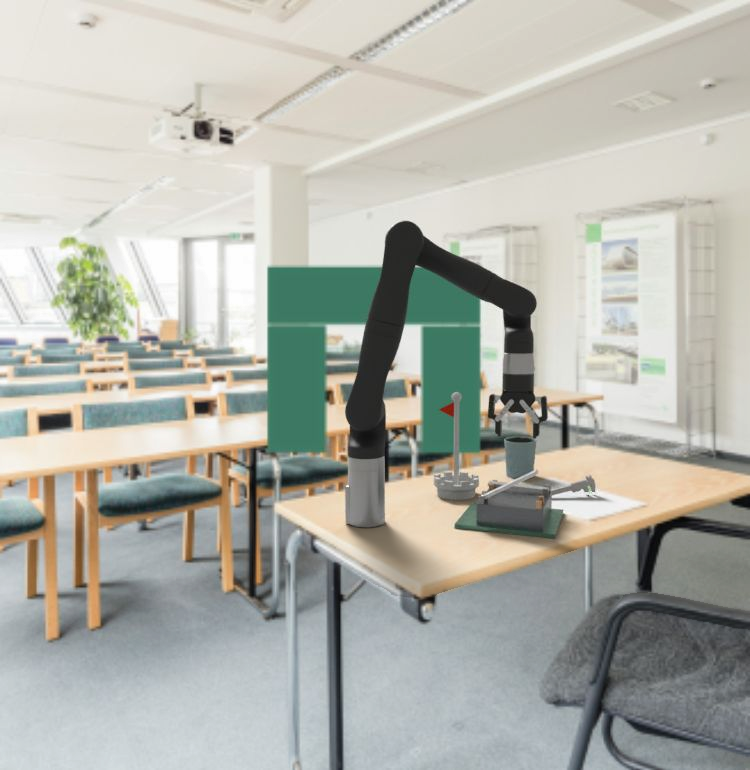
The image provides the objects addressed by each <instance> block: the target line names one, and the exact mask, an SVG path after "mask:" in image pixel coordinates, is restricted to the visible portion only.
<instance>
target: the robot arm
mask: <svg viewBox="0 0 750 770" xmlns="http://www.w3.org/2000/svg"><path fill="white" fill-rule="evenodd" d="M383 250H384V251H383V259H382V264H381V265H382V266H381V271H380V272H381V273H380V275H379V279H378V283H377V286H376V288H375V292H374V294H373V296H372V300H371V303H370V305H369V309H368V313H367V316H366V317H367V318H366V321H365V326H364V330H363V335H362V341H361V346H360V352H359V361H358V365H357V372H356V376H355V379H354V382H353V385H352V388H351V392H350V394H349V397H348V400H347V402H346V404H345V409H344V413H345V414H344V415H345V419H346V422H347V423H348V425H349V437H348V443H347V485H345V487H344V489H345V491H344V497H345V499H344V500H345V503H344V506H345V507H344V508H345V509H344V510H345V511H344V512H345V524H346V523H347V525H351V526H352V527H357V528H375V527H379V526H382V525H384V524H385V522H386V501H385V500H386V496H385V495H386V484H385V483H386V481H385V480H386V478H385V477H386V476H385V475H386V474H385V473H386V472H385V470H386V469H385V465H386V464H385V462H386V461H385V446H386V437H387V435H386V434H387V432H386V428H387V425H386V424H387V422H386V421H387V420H386V419H387V415H386V414H387V412H386V411H387V410H386V403H385V401H384V392H385V388H386V383H387V382H386V381H387V378H388V375H389V372H390V370H391V368H392V366H393V363H394V361H395V358H396V356H397V353H398V351H399V348H400V344H401V340H402V336H403V332H404V328H405V324H406V319H407V318H406V317H407V313H408V312H407V311H408V306H409V305H408V304H409V298H410V296H409V295H410V287H411V283H412V282H411V281H412V278H413V274H414V272H415V270H416V269H415V268H416V267H420V268H422V269H425V270H426V271H429V272H431V273H433V274H435V275H437V276H439V277H441V278H442V279H444V280H446V281H447V282H449V283H451V284H452V285H454V286H456V287H457V288H459V289H460V290H462V291H464V292H465V293H468V294H469V295H471V296H473V297H474V298H477V299H479V300H481V301H484V302H486V303H490V304H492V305H494V306H496V307H497V308H499V309H501V310H502V317H503V327H504V329H503V330H504V338H503V340H504V341H503V342H504V343H503V357H502V358H503V359H502V384H501V385H502V391H501V392H502V393H501V394H495V393H491V394H490V395H489V396H488V405H487V406H488V407H487V408H488V409H487V418H488V419H491V420H493V421H494V422H495V423H494V427H495V428H494V433H495V434H496V435H497V437H500V438H501V437H502V435H503V421H502V418H503V417H504V416H505V415H506V414H507V412H509V413H511V414H517V413H518V414H525V413H526V414H527V415H528V416H529V417H530V418H531V419H532V421H533V424H532V438H533V439H536V440H537V437H539V435H540V432H541V430H540V428H541V427H540V424H541V423H543V422H546V421H547V420H548V418H549V416H548V415H549V414H548V413H549V412H548V397H547V396H546V395H542V396H541V395H540V396H536V395H535V392H534V391H535V390H534V388H535V358H534V357H535V356H534V350H535V349H534V343H535V342H534V340H535V339H534V332H533V330H532V323H531V322H532V317H531V316H532V315H533V314H534V313H535V312H536V309H537V305H538V302H537V299H536V296H535V294H534V293H533V292H531V291H530V290H529V289H528V288H525V287H524V286H521V285H520V284H517V283H514V282H512V281H510V280H507V279H504V278H503V277H501V276H499V275H498V274H496V273H495V272H493V271H492V270H490V269H487V268H485V267H484V266H481V264H478V263H476V262H474V261H471V260H469V259H467V258H464V257H462V256H460V255H457V254H455V253H453V252H450V251H449V250H446V249H445V248H442V247H441V246H439V245H438V244H436V243H434V242H433V241H432V240H430V239H429V238H427V237H426V236H425V235H424V233H423V231H422V229H421V228H420V227H419V225H417V224H416V223H415V222H413V221H410V220H401V221H397V222H395V223H394V224H392V225H391V226H390V227H389V229H388V230H387V231H386V233H385V238H384V249H383ZM499 400H500V402H501V403H502V405H503V407H502V409H501V410H500V411H499V413H498V414H496V413H495V410H496V404H498V402H499ZM535 402H537V404H538V405H539V406H540V407H541V416H539V415H538V414H537V412H536V410H535V409H534V408H533V405H534V403H535Z"/></svg>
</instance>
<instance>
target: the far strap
mask: <svg viewBox="0 0 750 770" xmlns="http://www.w3.org/2000/svg"><path fill="white" fill-rule="evenodd" d="M507 483H508V482H505V481H498V480H497V481H492V480H489V481H488V482H487V487H489V484H494V487H500V486H502V485H505V484H507ZM543 488H546V489H549V490H550V488H549V487H545V486H540V485H539V486H538V485H531V484H523V483H522V484H521V483H518V484H516V485H514V486H512V487H510V488H508V489H516V490H525V491H533V492H541V493H543Z"/></svg>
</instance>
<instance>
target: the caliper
mask: <svg viewBox="0 0 750 770" xmlns="http://www.w3.org/2000/svg"><path fill="white" fill-rule="evenodd" d="M589 488H590V491H589ZM551 491H552V496H555V495H560V494H563V493H567V492H568V493H569V492H571V493H577V492H580V491H583V492H584V493H585V492H589V493H590V492H591V491H592V492H595V493H596V482H595V479H594V478H593V477H592V474H589V475H588V476H587V475H585V479H581V480H577V481H574V482H573V481H572V482H571V483H570V484H568V485H564V486H560V487H557V488H552V489H551ZM592 492H591V493H592Z"/></svg>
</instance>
